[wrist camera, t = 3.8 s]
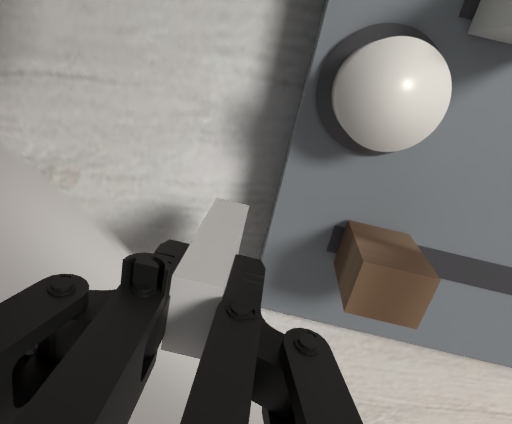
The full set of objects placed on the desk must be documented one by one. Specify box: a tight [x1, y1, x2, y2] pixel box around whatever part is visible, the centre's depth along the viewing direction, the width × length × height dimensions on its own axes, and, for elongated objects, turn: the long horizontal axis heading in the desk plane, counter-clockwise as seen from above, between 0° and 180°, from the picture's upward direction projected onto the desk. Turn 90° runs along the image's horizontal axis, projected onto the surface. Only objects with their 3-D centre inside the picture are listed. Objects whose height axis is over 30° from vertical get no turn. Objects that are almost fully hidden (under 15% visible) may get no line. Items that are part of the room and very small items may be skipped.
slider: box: [333, 220, 441, 329], centre depth 16 cm, size 3×2×4 cm
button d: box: [331, 36, 452, 152], centre depth 14 cm, size 4×4×2 cm
